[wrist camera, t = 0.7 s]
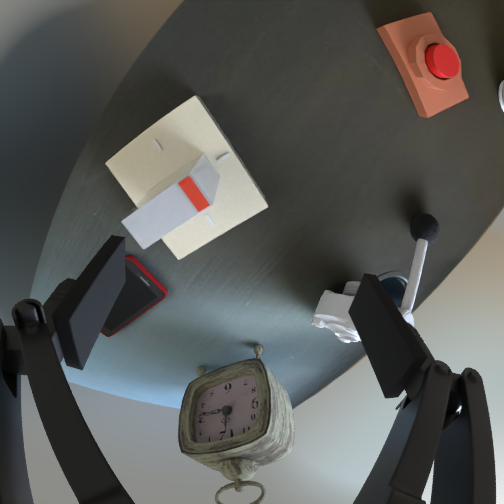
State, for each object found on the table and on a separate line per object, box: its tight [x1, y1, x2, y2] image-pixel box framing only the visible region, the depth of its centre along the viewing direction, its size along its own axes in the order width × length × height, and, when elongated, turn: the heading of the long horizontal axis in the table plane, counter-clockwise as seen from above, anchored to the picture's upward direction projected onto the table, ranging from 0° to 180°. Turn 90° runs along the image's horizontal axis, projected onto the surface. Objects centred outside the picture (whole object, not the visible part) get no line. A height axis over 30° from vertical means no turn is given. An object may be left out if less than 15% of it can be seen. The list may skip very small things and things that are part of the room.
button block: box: [376, 12, 469, 118], centre depth 25 cm, size 12×8×4 cm, turn 31°
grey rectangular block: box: [122, 153, 220, 249], centre depth 26 cm, size 7×3×9 cm, turn 121°
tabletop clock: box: [178, 345, 294, 504], centre depth 36 cm, size 14×9×25 cm, turn 118°
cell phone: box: [100, 255, 167, 337], centre depth 40 cm, size 8×15×1 cm, turn 126°
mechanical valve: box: [311, 213, 439, 343], centre depth 37 cm, size 10×18×15 cm
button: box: [425, 44, 459, 78], centre depth 23 cm, size 4×4×2 cm
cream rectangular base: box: [106, 95, 268, 260], centre depth 32 cm, size 14×12×3 cm
